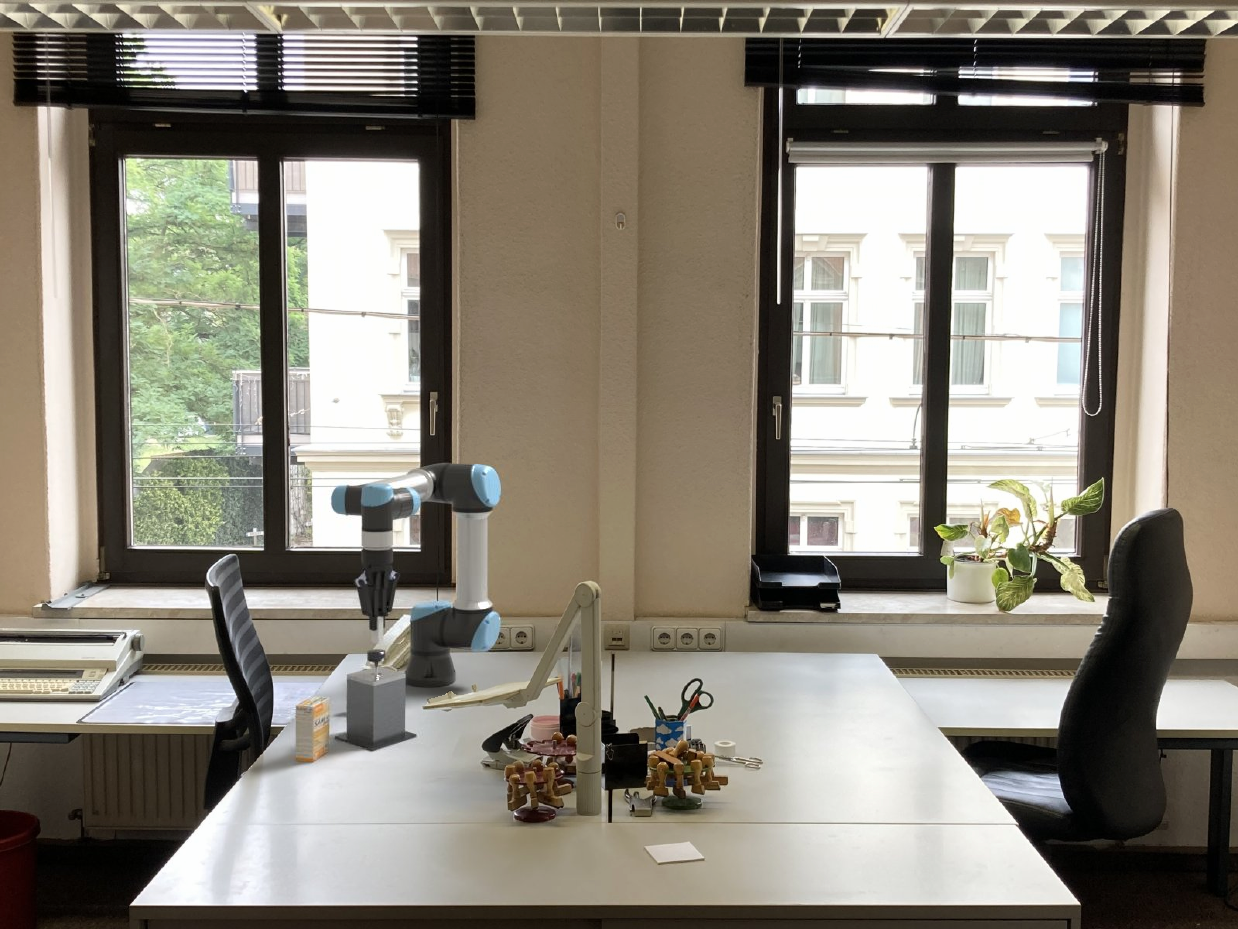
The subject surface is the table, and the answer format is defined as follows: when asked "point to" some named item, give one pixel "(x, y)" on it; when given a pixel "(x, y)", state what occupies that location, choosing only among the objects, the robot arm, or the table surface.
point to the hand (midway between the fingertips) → (377, 642)
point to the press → (375, 709)
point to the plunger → (376, 658)
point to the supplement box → (312, 728)
